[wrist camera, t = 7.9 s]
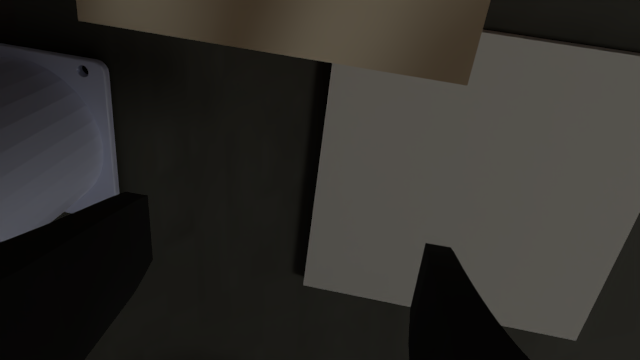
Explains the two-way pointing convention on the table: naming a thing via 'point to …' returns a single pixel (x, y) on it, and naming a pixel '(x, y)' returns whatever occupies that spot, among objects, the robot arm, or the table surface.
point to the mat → (483, 178)
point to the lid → (319, 29)
